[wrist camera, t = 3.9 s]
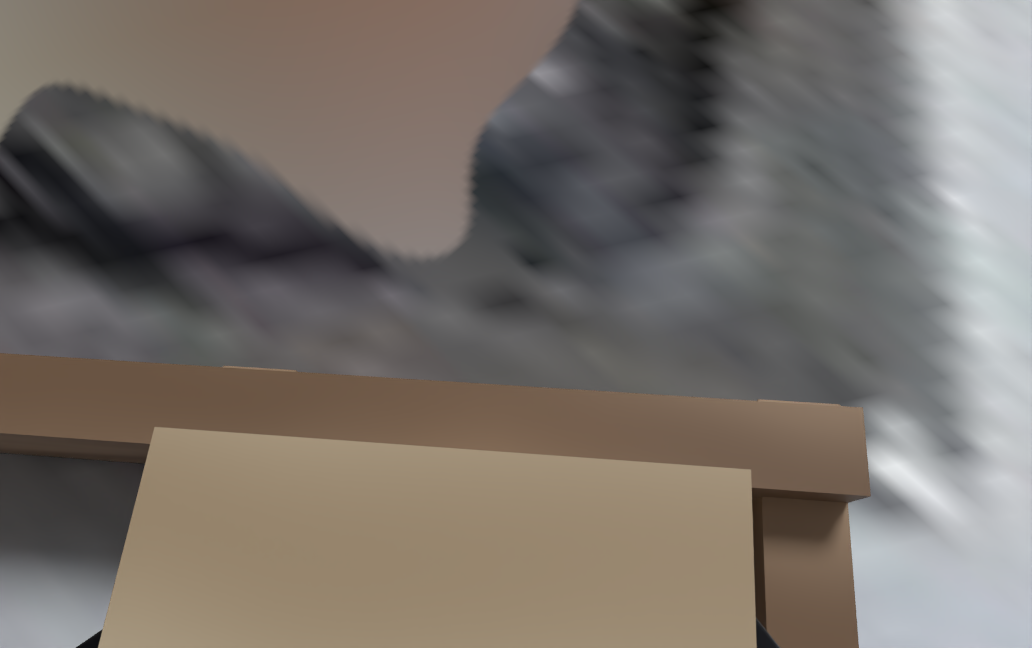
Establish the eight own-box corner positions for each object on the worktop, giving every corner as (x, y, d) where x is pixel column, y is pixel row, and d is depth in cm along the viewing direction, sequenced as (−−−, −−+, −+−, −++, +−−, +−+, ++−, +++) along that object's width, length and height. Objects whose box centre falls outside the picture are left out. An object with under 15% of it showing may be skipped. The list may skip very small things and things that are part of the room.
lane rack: (836, 947, 12) (919, 1055, 9) (-349, 802, 14) (-578, 857, 11) (805, 426, 15) (861, 391, 12) (-164, 363, 17) (-306, 319, 14)
